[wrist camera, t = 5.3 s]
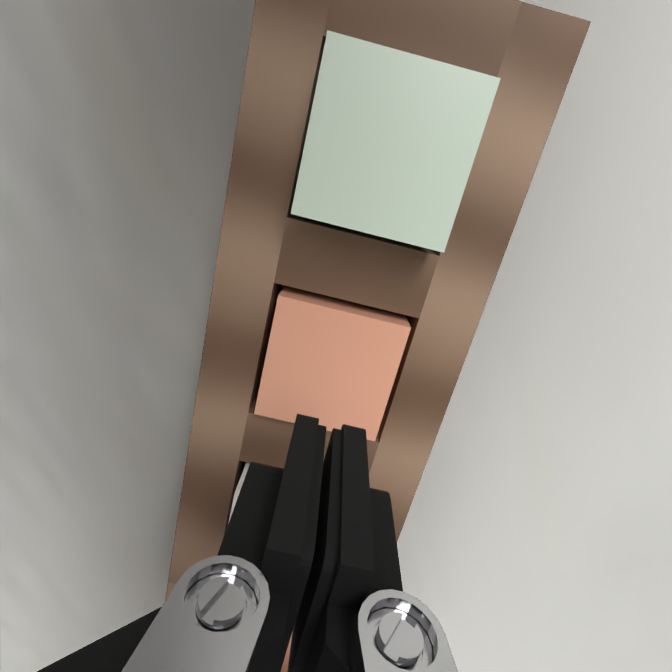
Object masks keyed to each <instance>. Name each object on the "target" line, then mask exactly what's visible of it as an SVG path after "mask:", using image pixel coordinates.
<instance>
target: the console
mask: <svg viewBox="0 0 672 672" xmlns="http://www.w3.org/2000/svg"><path fill="white" fill-rule="evenodd" d="M589 25H590V21H587V20H583V19H580V18H576V17H573V16H569V15H566V14H562V13H559V12H555V11H552V10H549V9H545V8H542V7H538V6H535V5H531V4H528V3H524V2H521V1H517V0H256V1H255V8H254V14H253V21H252V28H251V34H250V41H249V48H248V54H247V61H246V68H245V74H244V81H243V88H242V94H241V101H240V108H239V114H238V121H237V127H236V134H235V141H234V147H233V154H232V161H231V167H230V174H229V181H228V187H227V194H226V201H225V207H224V214H223V221H222V227H221V234H220V240H219V247H218V254H217V260H216V267H215V274H214V280H213V287H212V294H211V300H210V307H209V314H208V320H207V327H206V334H205V340H204V347H203V353H202V360H201V367H200V373H199V380H198V387H197V393H196V400H195V407H194V413H193V420H192V427H191V433H190V440H189V447H188V453H187V460H186V466H185V473H184V480H183V486H182V493H181V500H180V506H179V513H178V520H177V526H176V533H175V540H174V546H173V553H172V560H171V566H170V573H169V579H168V586H167V593H166V599H167V598H168V596H169V595H170V593H171V591H172V590H173V588H174V587H175V585H176V583H177V582H178V580H179V579H180V578H181V576H182V575H183V574H184V573H185V572H186V571H187V569H188V568H190V567H191V566H193V565H194V564H196V563H197V562H199V561H200V560H203V559H206V558H209V557H212V556H217V555H218V552H219V549H220V546H221V543H222V541H223V538H224V535H225V532H226V529H227V527H228V523H229V518H230V513H231V508H232V503H233V498H234V494H235V491H236V488H237V486H238V483H239V480H240V478H241V475H242V472H243V470H244V467H245V464H246V462H248V463H251V461H252V462H256V463H261V464H265V465H270V466H274V467H279V468H283V469H284V466H285V461H286V457H287V453H288V449H289V445H290V441H291V436H292V432H293V428H294V424H295V423H292V422H287V421H283V420H279V419H274V418H270V417H266V416H261V415H257V414H254V411H255V407H256V402H257V397H258V392H259V387H260V382H261V377H262V372H263V367H264V362H265V358H266V353H267V348H268V343H269V338H270V333H271V328H272V323H273V318H274V313H275V309H276V304H277V299H278V295H279V293H280V292H281V290H282V289H283V287H284V286H289V287H293V288H297V289H301V290H306V291H310V292H314V293H318V294H322V295H326V296H330V297H334V298H338V299H342V300H346V301H350V302H355V303H359V304H363V305H367V306H371V307H375V308H379V309H383V310H387V311H391V312H395V313H399V314H404V315H406V317H407V320H408V322H409V324H410V326H411V330H410V333H409V336H408V339H407V342H406V345H405V349H404V352H403V355H402V358H401V361H400V364H399V367H398V371H397V374H396V377H395V380H394V383H393V386H392V389H391V393H390V396H389V399H388V402H387V405H386V408H385V411H384V415H383V418H382V421H381V424H380V427H379V430H378V433H377V436H376V440H375V441H370V440H367V453H368V469H369V484H370V488H374V489H378V490H383V491H387V492H389V494H390V498H391V504H392V512H393V520H394V527H395V535H396V543H397V540H398V538H399V535H400V532H401V530H402V527H403V524H404V522H405V519H406V516H407V514H408V511H409V508H410V506H411V503H412V500H413V498H414V495H415V492H416V489H417V487H418V484H419V481H420V479H421V476H422V473H423V471H424V468H425V465H426V463H427V460H428V457H429V455H430V452H431V449H432V447H433V444H434V441H435V438H436V436H437V433H438V430H439V428H440V425H441V422H442V420H443V417H444V414H445V412H446V409H447V406H448V404H449V401H450V398H451V396H452V393H453V390H454V387H455V385H456V382H457V379H458V377H459V374H460V371H461V369H462V366H463V363H464V361H465V358H466V355H467V353H468V350H469V347H470V345H471V342H472V339H473V336H474V334H475V331H476V328H477V326H478V323H479V320H480V318H481V315H482V312H483V310H484V307H485V304H486V302H487V299H488V296H489V294H490V291H491V288H492V285H493V283H494V280H495V277H496V275H497V272H498V269H499V267H500V264H501V261H502V259H503V256H504V253H505V251H506V248H507V245H508V243H509V240H510V237H511V234H512V232H513V229H514V226H515V224H516V221H517V218H518V216H519V213H520V210H521V208H522V205H523V202H524V200H525V197H526V194H527V192H528V189H529V186H530V183H531V181H532V178H533V175H534V173H535V170H536V167H537V165H538V162H539V159H540V157H541V154H542V151H543V149H544V146H545V143H546V141H547V138H548V135H549V132H550V130H551V127H552V124H553V122H554V119H555V116H556V114H557V111H558V108H559V106H560V103H561V100H562V98H563V95H564V92H565V90H566V87H567V84H568V82H569V79H570V76H571V73H572V71H573V68H574V65H575V63H576V60H577V57H578V55H579V52H580V49H581V47H582V44H583V41H584V39H585V36H586V33H587V31H588V28H589ZM327 30H328V31H332V32H336V33H339V34H343V35H346V36H350V37H354V38H357V39H361V40H364V41H368V42H372V43H375V44H379V45H383V46H386V47H390V48H393V49H397V50H401V51H404V52H408V53H411V54H415V55H419V56H422V57H426V58H429V59H433V60H437V61H440V62H444V63H448V64H451V65H455V66H458V67H462V68H466V69H469V70H473V71H476V72H480V73H484V74H487V75H491V76H494V77H498V78H501V79H500V82H499V85H498V88H497V91H496V94H495V98H494V101H493V104H492V107H491V110H490V113H489V116H488V119H487V122H486V125H485V128H484V131H483V134H482V137H481V141H480V144H479V147H478V150H477V153H476V156H475V159H474V162H473V165H472V168H471V171H470V174H469V177H468V180H467V184H466V187H465V190H464V193H463V196H462V199H461V202H460V205H459V208H458V211H457V214H456V217H455V220H454V223H453V227H452V230H451V233H450V236H449V239H448V242H447V245H446V248H445V251H444V253H443V252H439V251H435V250H431V249H427V248H423V247H419V246H415V245H411V244H407V243H404V242H400V241H396V240H392V239H388V238H384V237H380V236H376V235H372V234H368V233H364V232H360V231H356V230H352V229H348V228H344V227H340V226H337V225H333V224H329V223H325V222H321V221H317V220H313V219H309V218H305V217H301V216H297V215H293V214H291V209H292V204H293V199H294V194H295V189H296V184H297V179H298V174H299V169H300V164H301V159H302V155H303V150H304V145H305V140H306V135H307V130H308V125H309V120H310V115H311V110H312V105H313V100H314V95H315V90H316V85H317V80H318V75H319V70H320V65H321V60H322V55H323V50H324V45H325V40H326V35H327ZM331 433H332V432H331V431H327V430H326V439H325V449H324V458H325V454H326V451H327V447H328V444H329V440H330V436H331ZM323 462H324V459H323ZM166 599H165V601H166ZM292 632H293V631H292ZM291 639H292V635H291V638H290V641H289V645H288V648H287V651H286V655H285V658H284V662H283V665H282V668H281V672H287V671H288V663H289V655H290V647H291Z"/></svg>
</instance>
